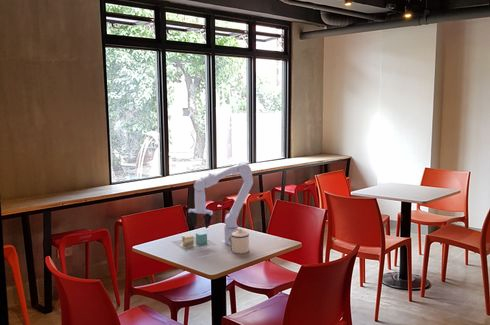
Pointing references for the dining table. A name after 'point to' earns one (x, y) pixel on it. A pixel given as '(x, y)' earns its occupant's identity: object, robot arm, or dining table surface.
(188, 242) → the birch block
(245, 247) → the teacup with lid
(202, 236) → the teal block
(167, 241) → the dining table surface
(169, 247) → the dining table surface
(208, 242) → the gray board
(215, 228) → the dining table surface
